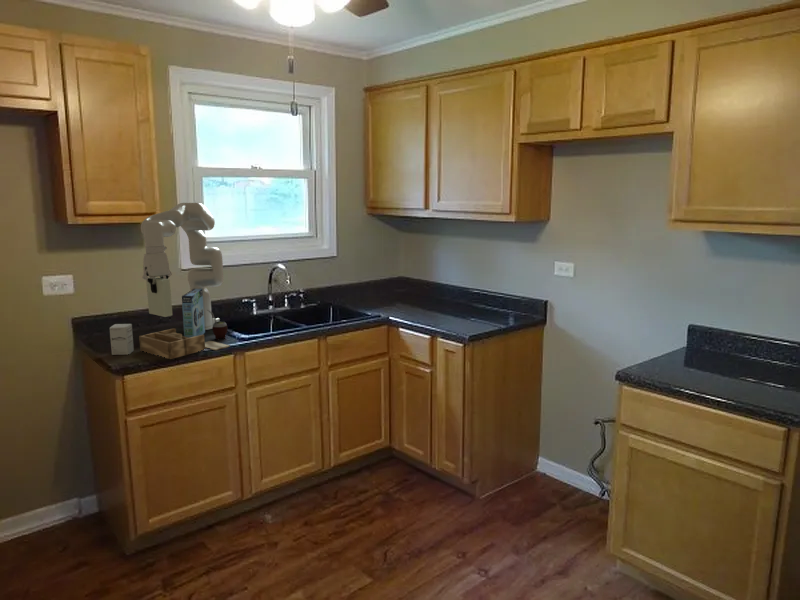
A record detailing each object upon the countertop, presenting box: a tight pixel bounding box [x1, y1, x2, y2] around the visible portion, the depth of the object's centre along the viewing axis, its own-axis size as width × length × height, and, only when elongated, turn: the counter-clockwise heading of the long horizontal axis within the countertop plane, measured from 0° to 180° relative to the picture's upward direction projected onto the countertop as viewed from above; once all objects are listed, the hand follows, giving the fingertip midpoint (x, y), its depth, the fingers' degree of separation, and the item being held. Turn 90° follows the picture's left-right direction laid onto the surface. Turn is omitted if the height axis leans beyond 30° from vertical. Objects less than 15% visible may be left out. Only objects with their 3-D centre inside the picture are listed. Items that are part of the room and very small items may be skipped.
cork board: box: [205, 340, 231, 351], centre depth 274 cm, size 8×14×1 cm, turn 55°
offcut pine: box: [165, 332, 183, 338], centre depth 272 cm, size 4×6×3 cm
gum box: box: [181, 289, 206, 338], centre depth 288 cm, size 20×5×23 cm, turn 3°
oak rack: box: [138, 327, 206, 360], centre depth 267 cm, size 18×22×7 cm
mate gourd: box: [207, 310, 229, 341], centre depth 286 cm, size 8×8×15 cm
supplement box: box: [109, 323, 134, 356], centre depth 263 cm, size 7×7×13 cm
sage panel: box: [145, 277, 173, 318], centre depth 259 cm, size 4×12×16 cm, turn 55°
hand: (158, 291), depth 259 cm, fingers closed on sage panel, 3 cm apart
